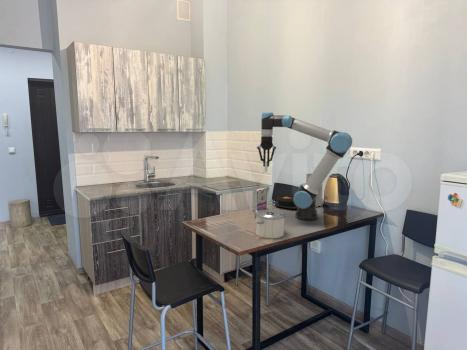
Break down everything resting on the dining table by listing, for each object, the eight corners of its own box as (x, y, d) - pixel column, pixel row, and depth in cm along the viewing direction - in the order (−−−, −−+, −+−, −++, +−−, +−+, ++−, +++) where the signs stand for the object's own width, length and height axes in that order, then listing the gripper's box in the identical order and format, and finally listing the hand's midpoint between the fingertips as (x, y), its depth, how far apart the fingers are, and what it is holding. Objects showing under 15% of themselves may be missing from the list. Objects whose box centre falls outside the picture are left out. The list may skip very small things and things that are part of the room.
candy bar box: (261, 208, 257) (261, 187, 254) (266, 209, 253) (267, 188, 251) (252, 211, 248) (252, 189, 246) (257, 212, 245) (257, 190, 243)
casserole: (307, 208, 258) (308, 198, 257) (290, 212, 247) (290, 201, 246) (284, 202, 278) (285, 192, 277) (267, 205, 268) (268, 195, 266)
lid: (248, 215, 196) (248, 212, 196) (266, 209, 209) (266, 207, 209) (274, 221, 185) (274, 219, 184) (290, 215, 197) (290, 212, 197)
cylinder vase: (322, 204, 270) (323, 174, 267) (320, 208, 259) (321, 176, 255) (306, 203, 275) (307, 173, 271) (303, 206, 263) (305, 175, 260)
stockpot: (245, 234, 195) (245, 216, 194) (268, 226, 213) (268, 209, 211) (269, 241, 184) (270, 222, 183) (292, 231, 202) (292, 214, 200)
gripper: (277, 136, 224) (276, 171, 228) (257, 135, 227) (257, 170, 230) (276, 136, 217) (275, 172, 221) (256, 136, 220) (255, 171, 223)
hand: (266, 171), depth 226 cm, fingers closed
